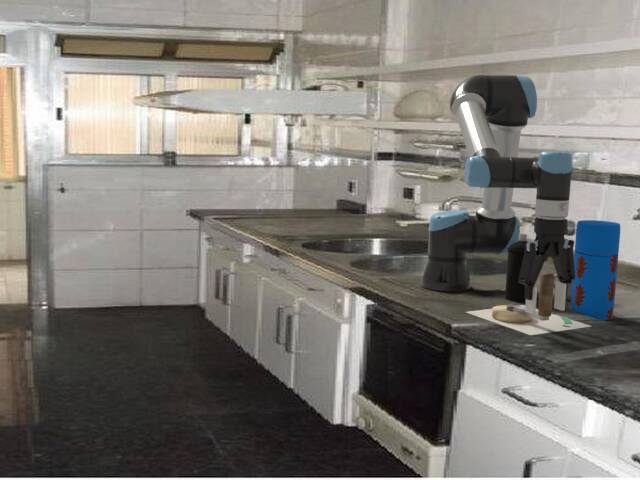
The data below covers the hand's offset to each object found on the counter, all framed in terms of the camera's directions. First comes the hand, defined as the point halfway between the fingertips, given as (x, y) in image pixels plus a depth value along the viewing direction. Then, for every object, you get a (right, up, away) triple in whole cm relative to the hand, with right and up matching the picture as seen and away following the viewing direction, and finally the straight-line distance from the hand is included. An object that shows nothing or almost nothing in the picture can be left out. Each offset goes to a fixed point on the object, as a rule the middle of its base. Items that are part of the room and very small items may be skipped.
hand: (544, 310), depth 186 cm
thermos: (+19, -3, +21) cm, 28 cm away
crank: (-4, -3, +7) cm, 8 cm away
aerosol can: (+2, -1, +32) cm, 32 cm away
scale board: (-2, -4, +10) cm, 11 cm away
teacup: (+19, 0, +40) cm, 45 cm away
